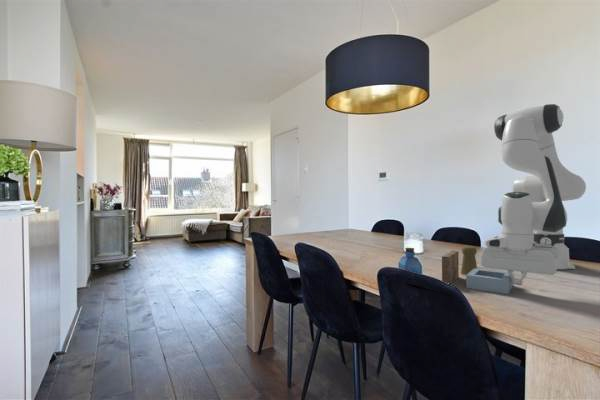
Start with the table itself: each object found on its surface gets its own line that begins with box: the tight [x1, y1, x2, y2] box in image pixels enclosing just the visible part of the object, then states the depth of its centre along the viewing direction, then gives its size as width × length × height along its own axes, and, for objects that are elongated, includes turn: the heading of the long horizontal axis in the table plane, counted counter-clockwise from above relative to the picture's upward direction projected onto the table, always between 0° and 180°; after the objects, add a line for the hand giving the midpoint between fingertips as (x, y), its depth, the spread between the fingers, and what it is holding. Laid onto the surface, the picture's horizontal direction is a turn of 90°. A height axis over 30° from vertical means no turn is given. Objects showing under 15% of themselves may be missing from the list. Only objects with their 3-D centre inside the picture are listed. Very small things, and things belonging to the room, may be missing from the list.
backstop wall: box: [441, 250, 460, 285], centre depth 118 cm, size 14×2×10 cm, turn 140°
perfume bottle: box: [398, 247, 423, 275], centre depth 119 cm, size 6×6×12 cm
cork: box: [460, 245, 478, 276], centre depth 128 cm, size 6×6×11 cm
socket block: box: [465, 268, 514, 295], centre depth 110 cm, size 12×12×4 cm
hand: (517, 284), depth 105 cm, fingers closed
